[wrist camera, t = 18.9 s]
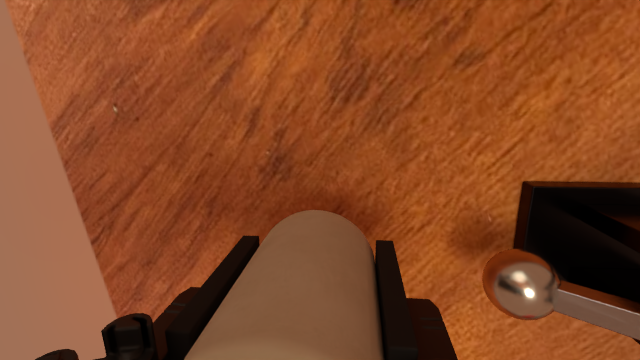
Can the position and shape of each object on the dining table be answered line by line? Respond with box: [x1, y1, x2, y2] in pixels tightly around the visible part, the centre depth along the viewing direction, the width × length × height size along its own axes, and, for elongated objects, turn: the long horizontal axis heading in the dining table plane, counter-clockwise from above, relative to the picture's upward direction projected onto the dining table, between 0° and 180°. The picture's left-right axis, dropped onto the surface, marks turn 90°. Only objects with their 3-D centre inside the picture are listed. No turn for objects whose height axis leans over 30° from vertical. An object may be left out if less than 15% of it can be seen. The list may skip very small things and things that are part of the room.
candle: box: [184, 210, 385, 360], centre depth 11 cm, size 6×6×10 cm
